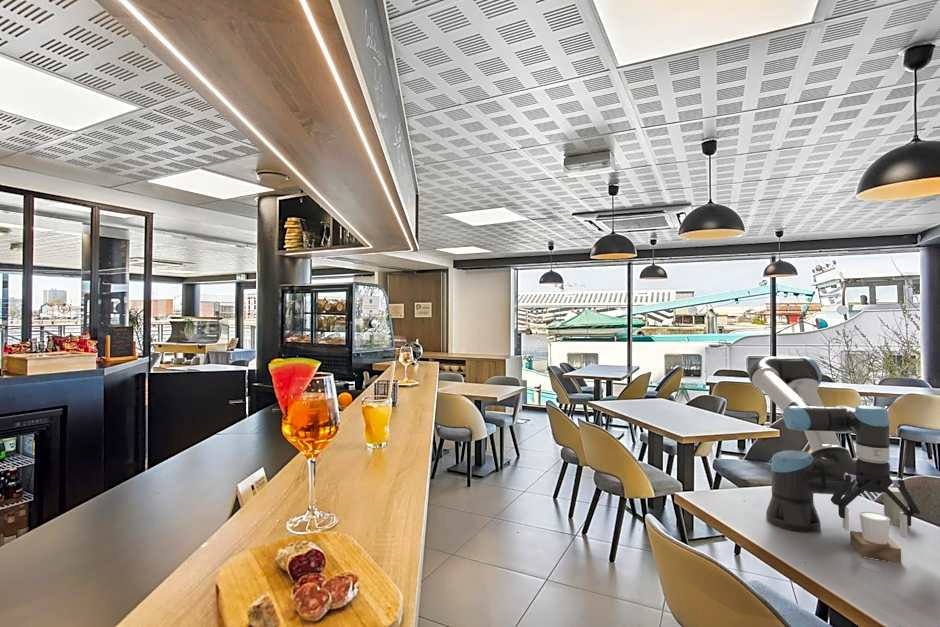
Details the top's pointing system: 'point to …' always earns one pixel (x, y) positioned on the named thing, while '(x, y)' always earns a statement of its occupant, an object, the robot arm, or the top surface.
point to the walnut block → (875, 548)
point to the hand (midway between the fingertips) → (874, 532)
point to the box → (893, 506)
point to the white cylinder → (875, 527)
